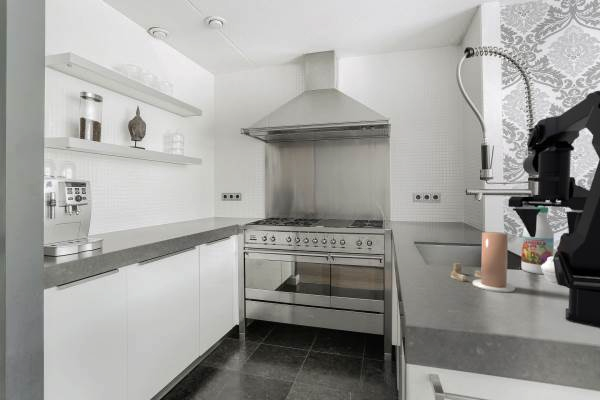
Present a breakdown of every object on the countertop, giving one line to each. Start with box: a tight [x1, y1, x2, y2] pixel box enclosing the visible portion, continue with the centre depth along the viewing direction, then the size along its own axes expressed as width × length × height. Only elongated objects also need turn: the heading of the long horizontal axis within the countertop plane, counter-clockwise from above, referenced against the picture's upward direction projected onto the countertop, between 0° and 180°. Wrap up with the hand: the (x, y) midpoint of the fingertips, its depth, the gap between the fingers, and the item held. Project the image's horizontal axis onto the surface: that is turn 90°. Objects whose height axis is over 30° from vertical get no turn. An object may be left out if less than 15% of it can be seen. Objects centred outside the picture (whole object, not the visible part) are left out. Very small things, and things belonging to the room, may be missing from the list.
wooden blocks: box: [450, 262, 481, 283], centre depth 87 cm, size 8×9×3 cm
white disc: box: [472, 278, 516, 293], centre depth 78 cm, size 9×9×1 cm
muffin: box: [541, 256, 558, 284], centre depth 83 cm, size 6×6×7 cm
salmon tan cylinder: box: [480, 231, 509, 288], centre depth 77 cm, size 6×6×13 cm
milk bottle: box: [520, 206, 555, 275], centre depth 94 cm, size 8×8×20 cm
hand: (551, 239), depth 71 cm, fingers open, 9 cm apart
